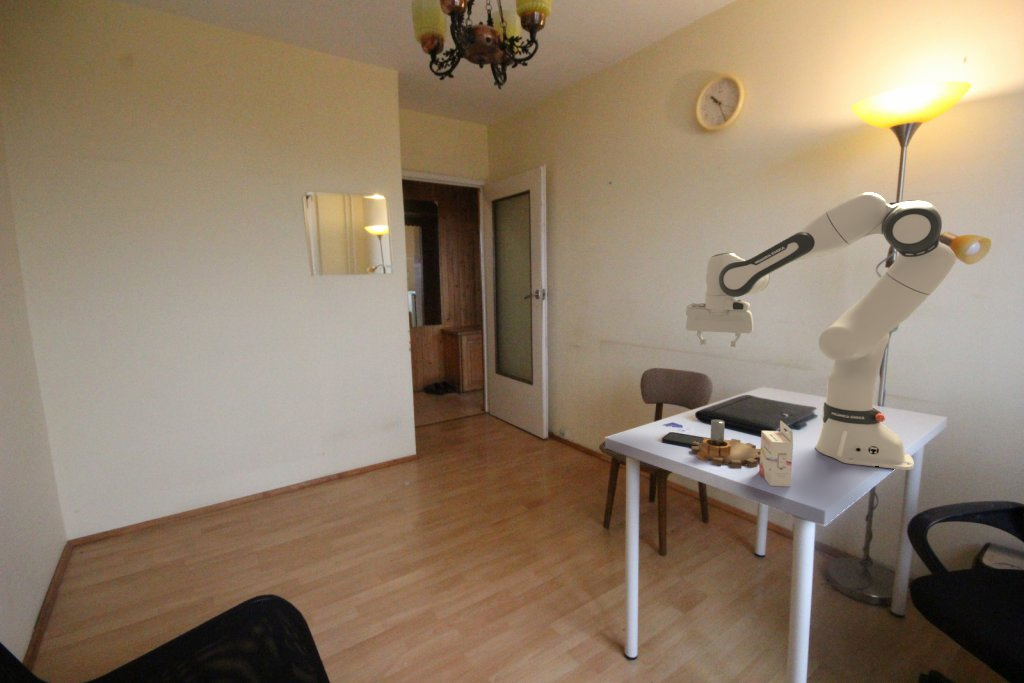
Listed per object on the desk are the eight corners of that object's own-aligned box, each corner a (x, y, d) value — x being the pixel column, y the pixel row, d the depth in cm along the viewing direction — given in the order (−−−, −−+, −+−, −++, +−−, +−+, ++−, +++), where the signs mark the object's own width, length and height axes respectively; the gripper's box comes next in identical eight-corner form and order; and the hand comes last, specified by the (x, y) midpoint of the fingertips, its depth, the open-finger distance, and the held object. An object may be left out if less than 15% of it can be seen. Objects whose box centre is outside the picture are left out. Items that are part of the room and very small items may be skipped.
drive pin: (721, 448, 136) (722, 419, 135) (725, 453, 133) (726, 423, 132) (708, 448, 137) (709, 419, 136) (712, 453, 133) (713, 423, 132)
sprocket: (767, 449, 139) (768, 436, 139) (761, 473, 123) (761, 459, 122) (698, 437, 150) (699, 425, 149) (684, 458, 134) (684, 445, 133)
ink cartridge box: (757, 471, 124) (760, 419, 122) (777, 472, 123) (781, 419, 121) (769, 486, 116) (773, 430, 114) (791, 487, 115) (795, 430, 113)
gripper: (684, 303, 153) (682, 344, 155) (753, 304, 142) (750, 349, 144) (688, 302, 159) (687, 342, 161) (755, 303, 148) (753, 346, 150)
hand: (717, 345), depth 152 cm, fingers open, 8 cm apart
